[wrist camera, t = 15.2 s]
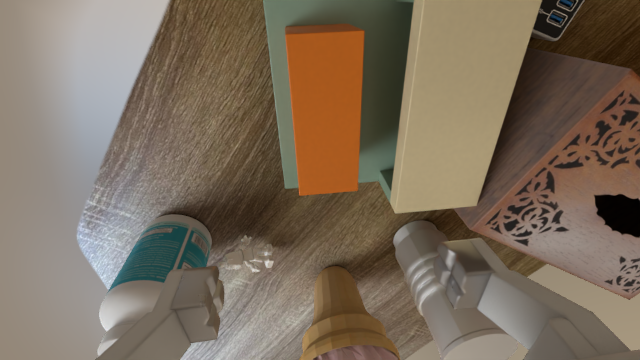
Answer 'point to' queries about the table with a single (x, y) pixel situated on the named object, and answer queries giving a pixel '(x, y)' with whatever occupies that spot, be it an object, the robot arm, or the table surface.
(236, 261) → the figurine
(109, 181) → the table surface
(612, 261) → the tissue box cover
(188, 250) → the pill bottle
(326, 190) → the orange block
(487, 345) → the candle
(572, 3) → the multiport hub
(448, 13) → the two-tone step block
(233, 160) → the table surface
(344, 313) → the ice cream cone
